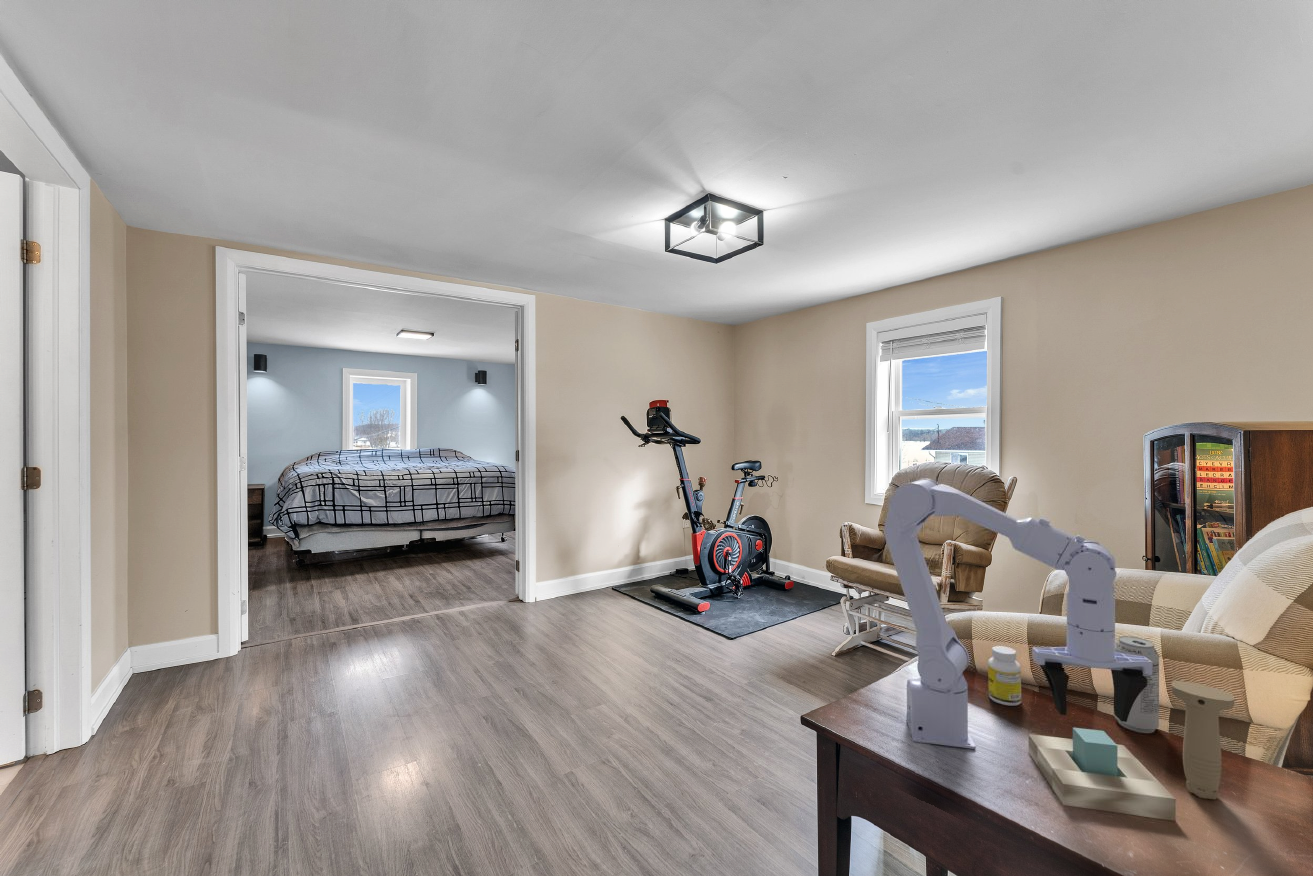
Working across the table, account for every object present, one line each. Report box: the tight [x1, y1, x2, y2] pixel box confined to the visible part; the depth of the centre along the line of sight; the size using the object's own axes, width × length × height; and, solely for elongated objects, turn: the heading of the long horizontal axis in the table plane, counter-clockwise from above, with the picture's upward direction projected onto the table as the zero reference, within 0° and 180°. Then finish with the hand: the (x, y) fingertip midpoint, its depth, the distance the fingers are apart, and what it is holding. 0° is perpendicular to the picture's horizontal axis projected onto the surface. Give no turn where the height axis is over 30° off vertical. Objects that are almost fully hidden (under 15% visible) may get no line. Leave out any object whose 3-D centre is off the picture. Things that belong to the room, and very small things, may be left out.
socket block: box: [1028, 733, 1177, 822], centre depth 83 cm, size 13×13×3 cm
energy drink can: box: [1113, 635, 1160, 734], centre depth 98 cm, size 6×6×15 cm
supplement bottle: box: [987, 645, 1022, 707], centre depth 108 cm, size 5×5×10 cm
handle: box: [1171, 680, 1235, 801], centre depth 80 cm, size 5×6×15 cm
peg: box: [1072, 727, 1118, 777], centre depth 83 cm, size 4×4×7 cm
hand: (1090, 715), depth 83 cm, fingers open, 7 cm apart
